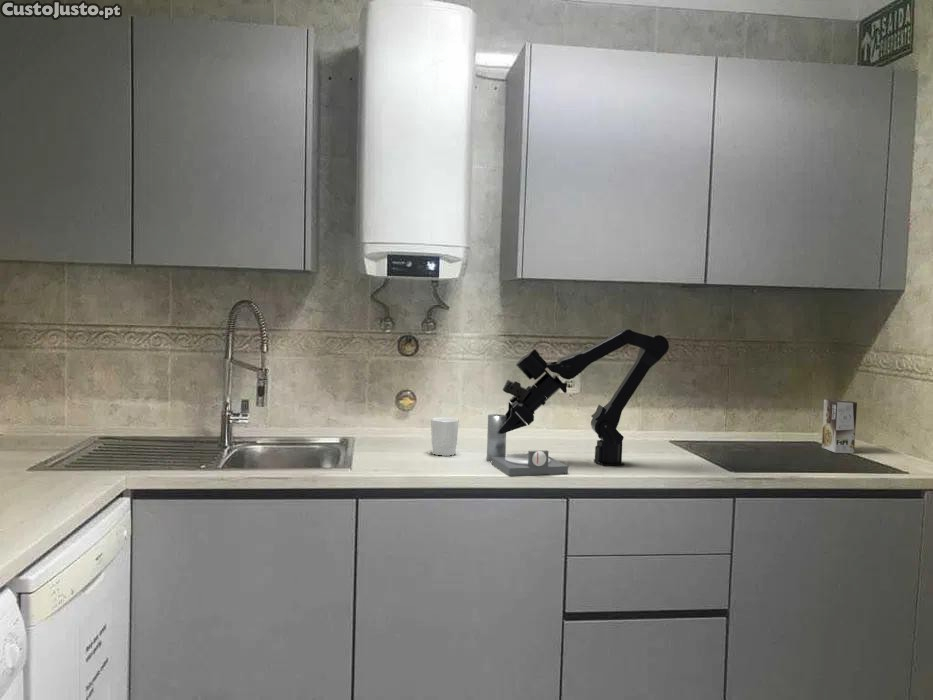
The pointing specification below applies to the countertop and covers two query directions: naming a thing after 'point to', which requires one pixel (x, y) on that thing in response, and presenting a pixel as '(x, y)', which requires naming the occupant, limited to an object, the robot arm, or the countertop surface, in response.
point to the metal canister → (496, 436)
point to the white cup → (444, 435)
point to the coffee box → (839, 425)
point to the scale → (529, 464)
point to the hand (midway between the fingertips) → (499, 430)
